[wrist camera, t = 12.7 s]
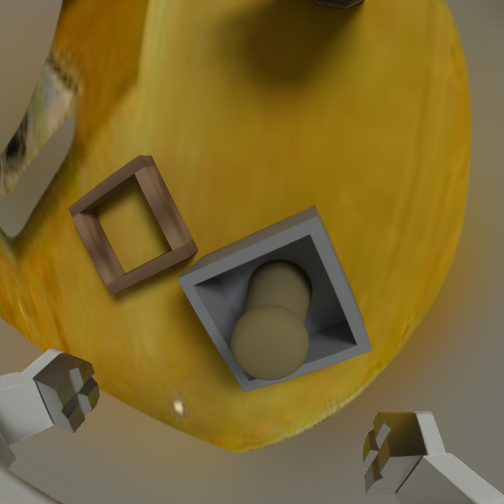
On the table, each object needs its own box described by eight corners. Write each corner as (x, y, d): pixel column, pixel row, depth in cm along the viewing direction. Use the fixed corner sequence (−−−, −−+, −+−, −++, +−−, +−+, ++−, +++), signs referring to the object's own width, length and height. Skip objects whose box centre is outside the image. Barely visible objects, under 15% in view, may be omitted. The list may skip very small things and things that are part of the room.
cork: (313, 318, 30) (315, 393, 19) (250, 320, 31) (225, 393, 20) (311, 257, 28) (315, 312, 18) (244, 261, 29) (211, 315, 19)
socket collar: (82, 204, 32) (68, 208, 30) (151, 155, 29) (138, 155, 27) (123, 287, 34) (111, 295, 31) (198, 250, 31) (189, 257, 29)
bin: (200, 258, 31) (177, 279, 25) (315, 205, 28) (316, 215, 22) (254, 356, 33) (244, 391, 27) (362, 317, 30) (372, 350, 24)
